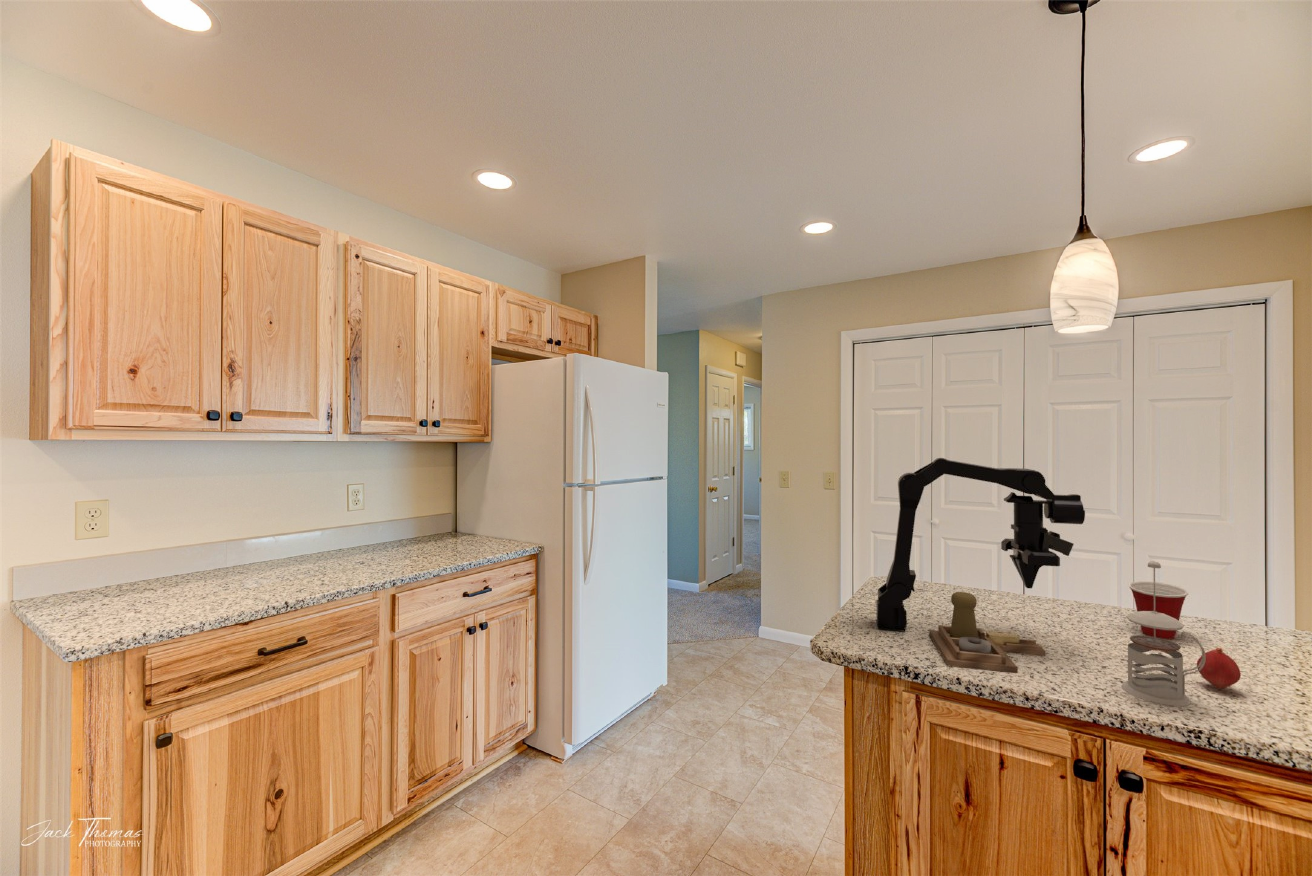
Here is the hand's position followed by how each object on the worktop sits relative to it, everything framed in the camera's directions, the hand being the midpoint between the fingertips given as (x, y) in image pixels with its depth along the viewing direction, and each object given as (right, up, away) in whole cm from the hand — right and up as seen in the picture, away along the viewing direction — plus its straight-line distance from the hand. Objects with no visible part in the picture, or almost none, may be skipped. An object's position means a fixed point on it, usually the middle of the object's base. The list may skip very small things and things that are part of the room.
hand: (1028, 587), depth 128 cm
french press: (+7, -13, -26) cm, 30 cm away
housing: (-13, -13, -7) cm, 19 cm away
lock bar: (-9, -12, -4) cm, 15 cm away
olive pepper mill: (-16, -12, -1) cm, 20 cm away
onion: (+20, -13, -24) cm, 34 cm away
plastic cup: (+35, -13, +4) cm, 37 cm away
